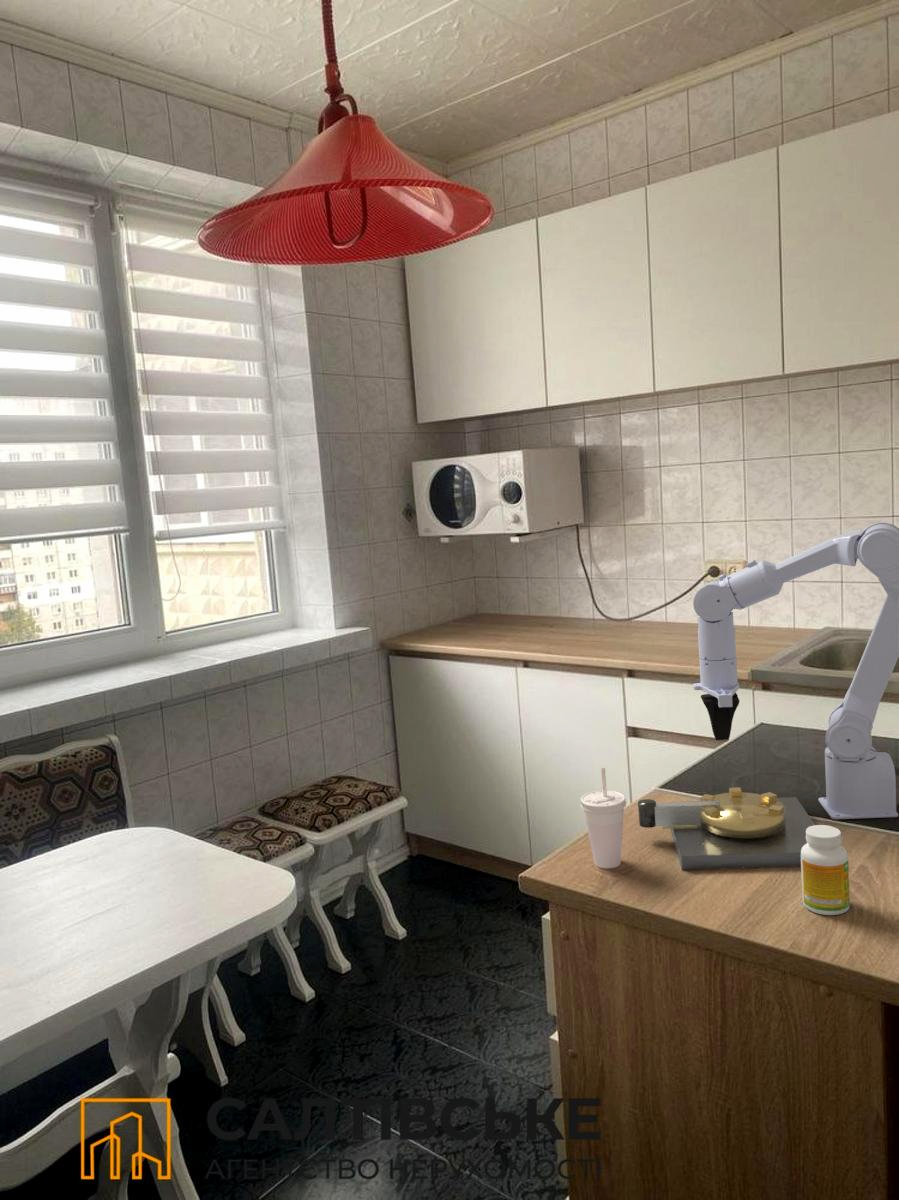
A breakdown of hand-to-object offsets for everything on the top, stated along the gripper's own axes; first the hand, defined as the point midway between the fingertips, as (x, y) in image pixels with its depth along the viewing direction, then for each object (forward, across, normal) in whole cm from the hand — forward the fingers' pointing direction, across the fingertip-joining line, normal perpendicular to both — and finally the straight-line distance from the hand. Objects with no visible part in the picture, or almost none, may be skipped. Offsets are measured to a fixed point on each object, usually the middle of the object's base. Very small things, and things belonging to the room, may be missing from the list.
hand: (721, 738), depth 145 cm
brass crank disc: (+8, +15, -4) cm, 17 cm away
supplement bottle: (+11, +36, +7) cm, 38 cm away
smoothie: (+11, +23, -19) cm, 32 cm away
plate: (+10, +15, 0) cm, 18 cm away
